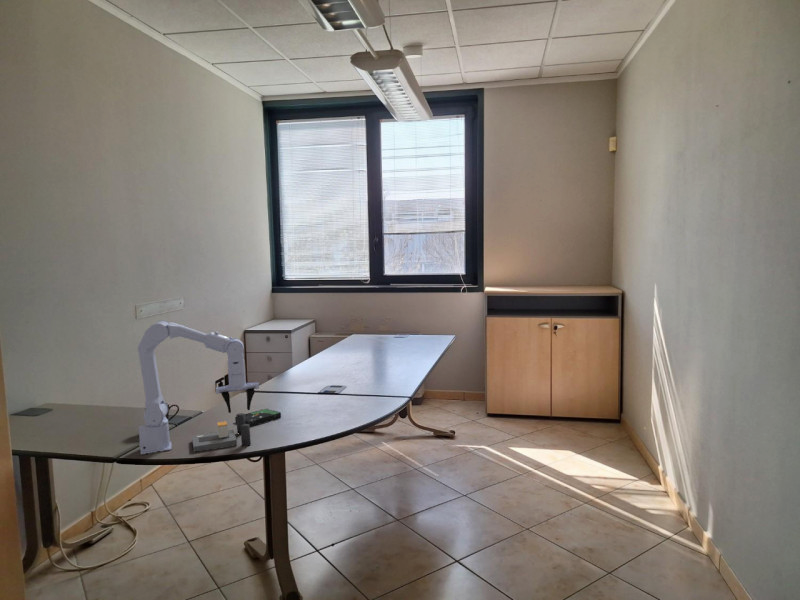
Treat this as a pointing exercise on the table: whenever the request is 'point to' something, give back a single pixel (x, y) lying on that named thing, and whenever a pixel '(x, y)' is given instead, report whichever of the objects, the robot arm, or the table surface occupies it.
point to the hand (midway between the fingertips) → (239, 410)
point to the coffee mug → (169, 409)
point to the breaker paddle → (222, 429)
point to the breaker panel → (213, 441)
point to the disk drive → (261, 416)
